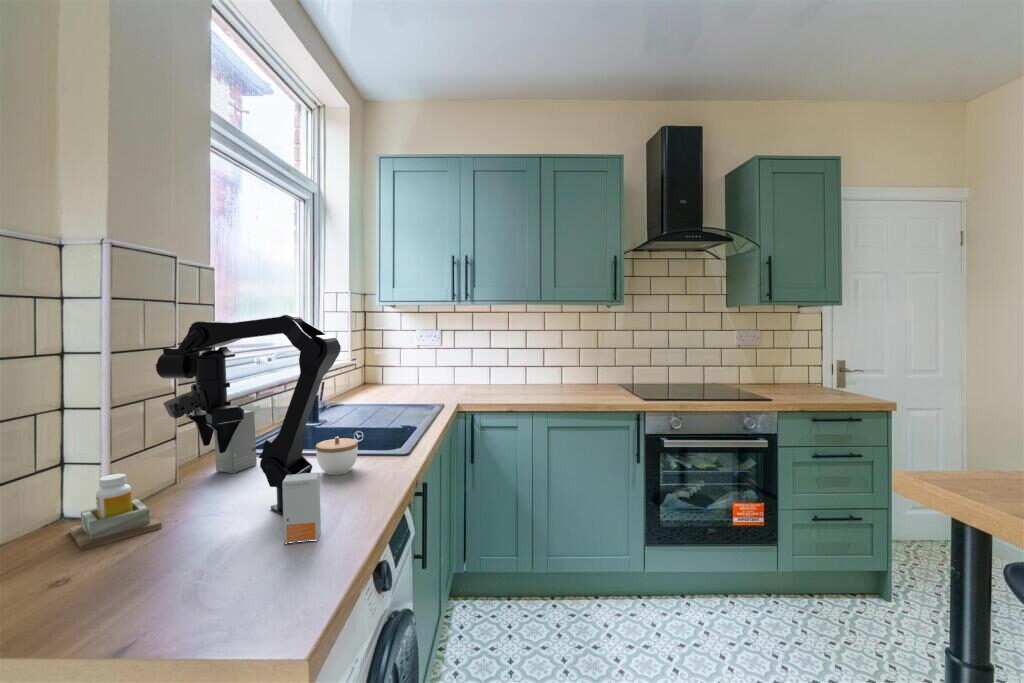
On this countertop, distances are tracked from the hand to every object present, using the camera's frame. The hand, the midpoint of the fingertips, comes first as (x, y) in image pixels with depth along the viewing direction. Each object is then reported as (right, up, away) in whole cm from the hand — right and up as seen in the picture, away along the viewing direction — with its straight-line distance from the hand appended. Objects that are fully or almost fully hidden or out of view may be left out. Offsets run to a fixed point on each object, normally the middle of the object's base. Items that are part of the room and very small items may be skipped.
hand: (214, 449), depth 106 cm
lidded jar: (+18, -12, +24) cm, 33 cm away
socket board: (-13, -14, -11) cm, 22 cm away
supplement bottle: (-13, -13, -10) cm, 21 cm away
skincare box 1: (-11, -12, +28) cm, 32 cm away
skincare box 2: (+26, -14, -15) cm, 33 cm away
